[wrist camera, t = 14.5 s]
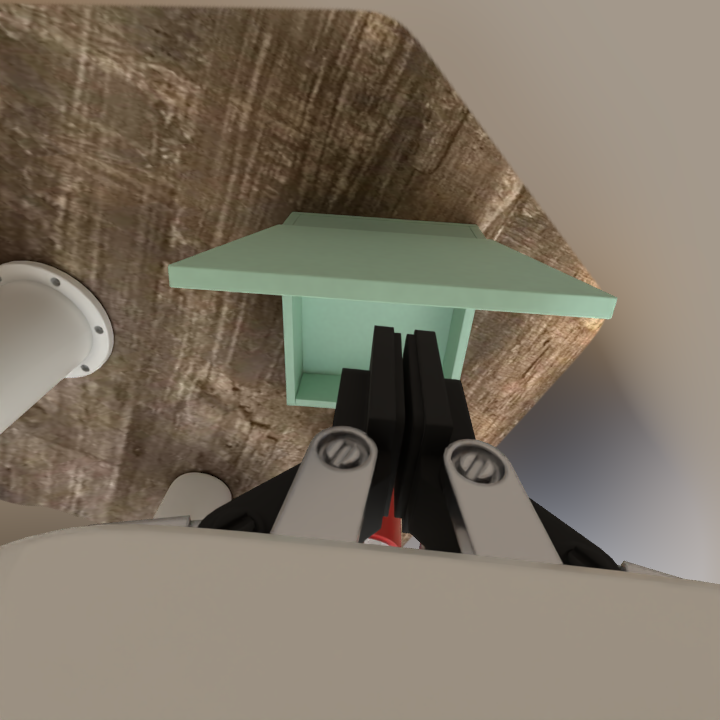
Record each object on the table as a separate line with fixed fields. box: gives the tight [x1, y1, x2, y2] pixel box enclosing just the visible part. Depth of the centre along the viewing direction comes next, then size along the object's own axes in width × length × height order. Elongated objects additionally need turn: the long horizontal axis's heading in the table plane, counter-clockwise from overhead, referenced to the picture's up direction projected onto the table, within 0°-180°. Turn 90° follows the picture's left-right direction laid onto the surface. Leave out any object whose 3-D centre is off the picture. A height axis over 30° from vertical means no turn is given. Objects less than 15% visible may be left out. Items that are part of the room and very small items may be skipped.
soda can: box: [364, 488, 401, 547], centre depth 39 cm, size 6×6×9 cm
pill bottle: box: [153, 472, 232, 521], centre depth 49 cm, size 8×8×15 cm
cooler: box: [282, 212, 486, 409], centre depth 38 cm, size 17×16×5 cm
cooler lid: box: [168, 224, 617, 319], centre depth 23 cm, size 18×16×1 cm
